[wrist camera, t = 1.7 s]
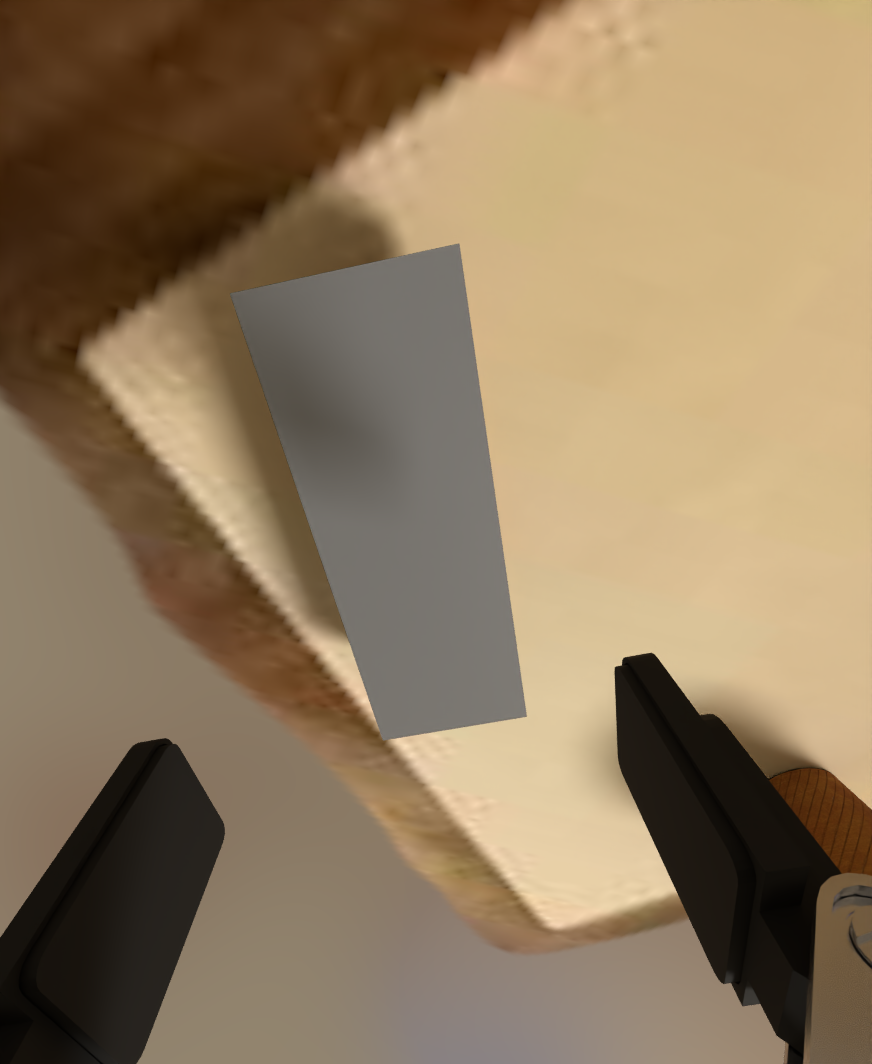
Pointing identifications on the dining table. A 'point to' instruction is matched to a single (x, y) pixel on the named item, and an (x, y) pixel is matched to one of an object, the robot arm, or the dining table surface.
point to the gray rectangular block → (395, 480)
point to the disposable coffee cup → (830, 816)
